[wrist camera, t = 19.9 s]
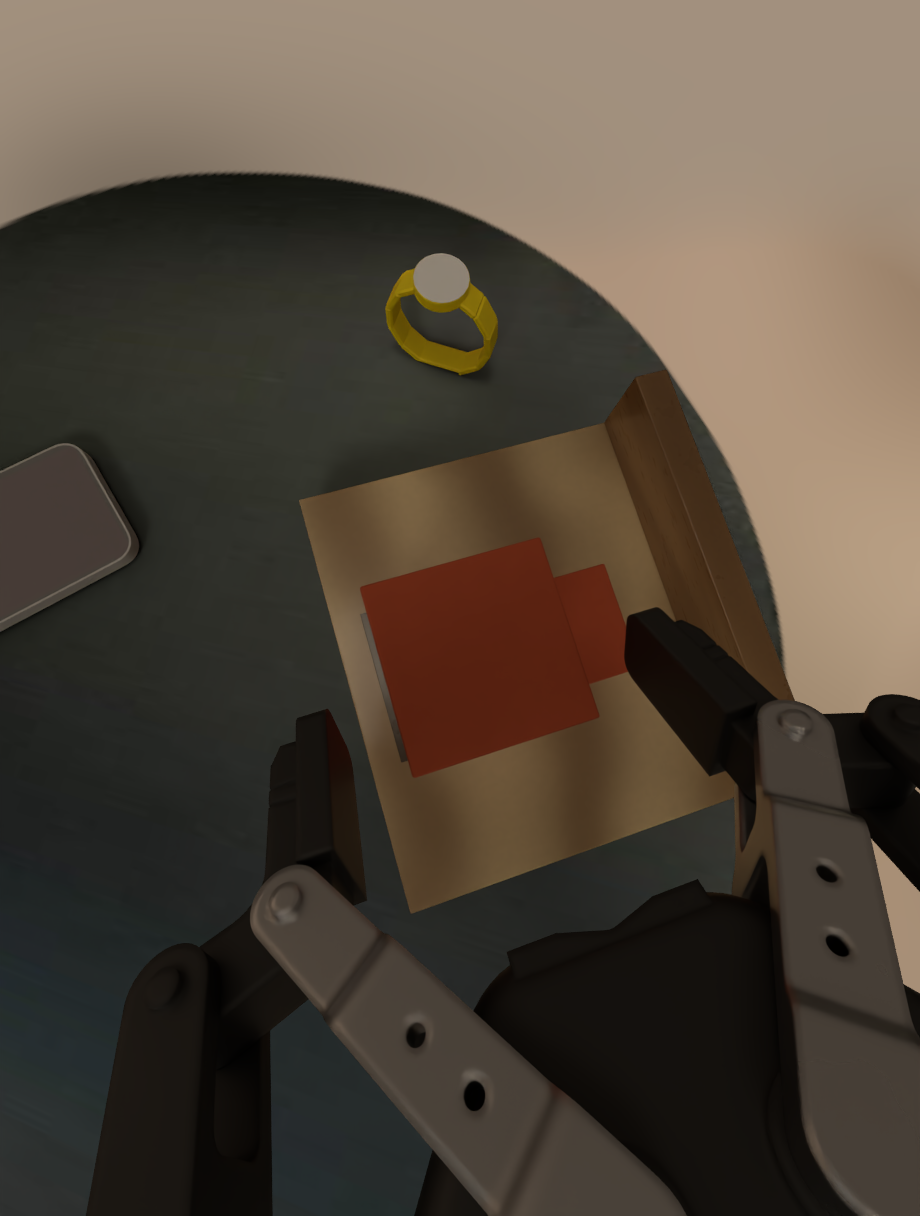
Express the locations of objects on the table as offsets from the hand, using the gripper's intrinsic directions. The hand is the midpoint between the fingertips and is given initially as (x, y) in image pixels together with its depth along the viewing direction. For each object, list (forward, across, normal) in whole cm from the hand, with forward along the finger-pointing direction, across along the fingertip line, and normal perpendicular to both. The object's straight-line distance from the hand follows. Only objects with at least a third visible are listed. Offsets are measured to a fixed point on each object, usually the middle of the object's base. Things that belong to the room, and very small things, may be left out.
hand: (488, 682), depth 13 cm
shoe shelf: (+10, +4, -9) cm, 15 cm away
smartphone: (+19, -22, -1) cm, 29 cm away
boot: (+8, +2, -7) cm, 11 cm away
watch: (+23, +5, +3) cm, 24 cm away
